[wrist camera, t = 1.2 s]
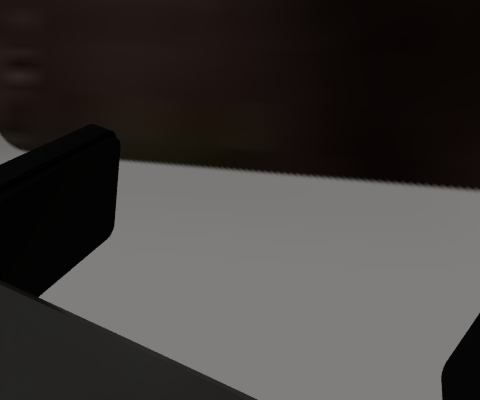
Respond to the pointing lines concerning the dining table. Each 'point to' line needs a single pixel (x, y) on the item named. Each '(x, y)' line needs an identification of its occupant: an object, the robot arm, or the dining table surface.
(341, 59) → the dining table surface
